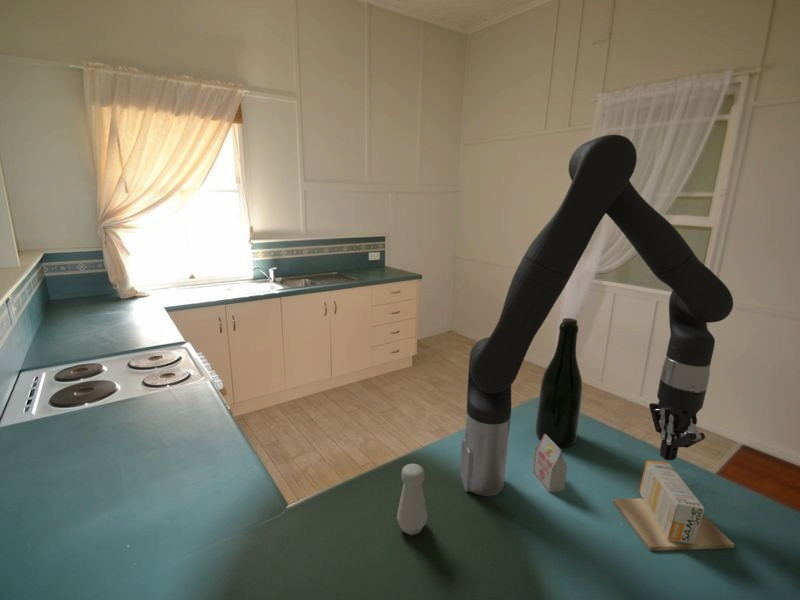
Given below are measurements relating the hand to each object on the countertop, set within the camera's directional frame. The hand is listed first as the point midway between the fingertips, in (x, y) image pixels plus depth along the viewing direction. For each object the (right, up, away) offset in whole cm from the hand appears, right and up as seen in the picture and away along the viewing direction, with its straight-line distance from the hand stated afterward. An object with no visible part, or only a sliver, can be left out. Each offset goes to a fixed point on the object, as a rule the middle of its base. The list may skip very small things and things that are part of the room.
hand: (667, 458), depth 83 cm
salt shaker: (-53, -11, -5) cm, 54 cm away
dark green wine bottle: (-13, -4, +25) cm, 29 cm away
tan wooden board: (-2, -12, -3) cm, 12 cm away
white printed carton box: (-22, -9, +8) cm, 25 cm away
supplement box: (-1, -5, +3) cm, 6 cm away
